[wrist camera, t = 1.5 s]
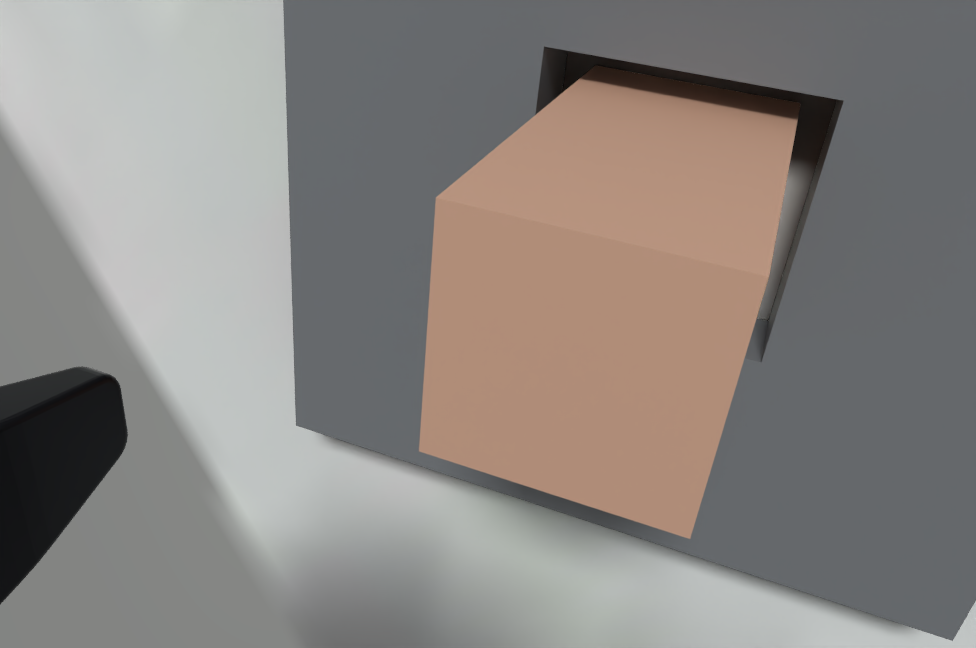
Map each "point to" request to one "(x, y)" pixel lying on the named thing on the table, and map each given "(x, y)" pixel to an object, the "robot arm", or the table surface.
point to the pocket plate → (774, 343)
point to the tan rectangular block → (605, 291)
